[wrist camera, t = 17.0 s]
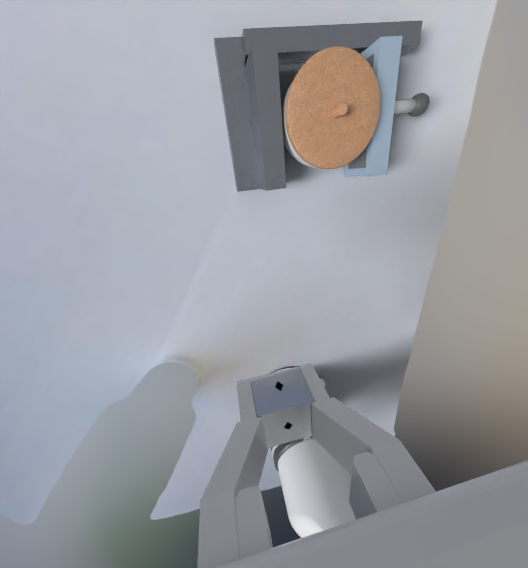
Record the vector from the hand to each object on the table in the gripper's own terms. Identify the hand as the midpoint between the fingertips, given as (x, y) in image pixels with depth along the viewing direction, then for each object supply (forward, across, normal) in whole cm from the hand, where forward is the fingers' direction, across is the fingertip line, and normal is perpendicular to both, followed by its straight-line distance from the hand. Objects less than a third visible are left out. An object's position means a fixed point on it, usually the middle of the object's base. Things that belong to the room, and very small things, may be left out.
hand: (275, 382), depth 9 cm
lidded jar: (+29, -13, -12) cm, 34 cm away
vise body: (+29, -14, -13) cm, 35 cm away
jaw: (+29, -23, -12) cm, 39 cm away
